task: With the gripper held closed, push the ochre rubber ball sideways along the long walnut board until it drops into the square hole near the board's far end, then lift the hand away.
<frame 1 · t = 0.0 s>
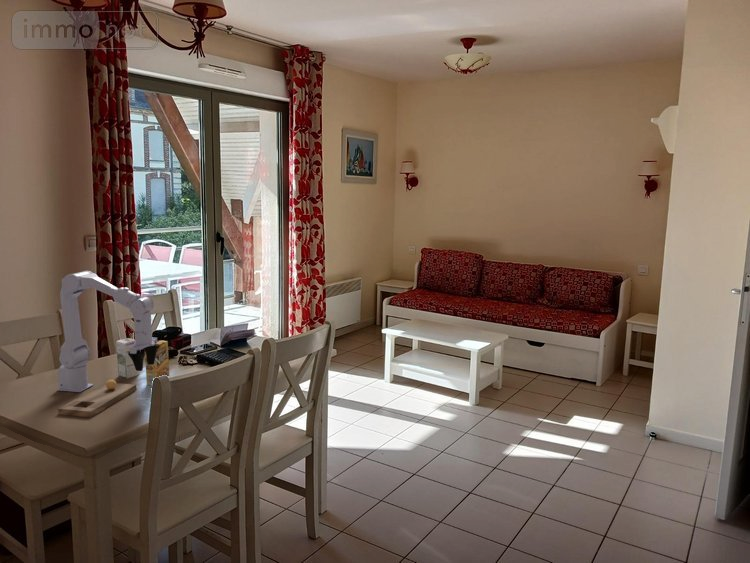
hand: (145, 367, 212), 10 cm above the table, tool pointing down, fingers open, 7 cm apart
candy box: (158, 382, 227), on the table
syrup box: (128, 376, 233), on the table
ball: (111, 384, 212), point 4 cm above the table, touching hole board
hole board: (99, 401, 206), on the table
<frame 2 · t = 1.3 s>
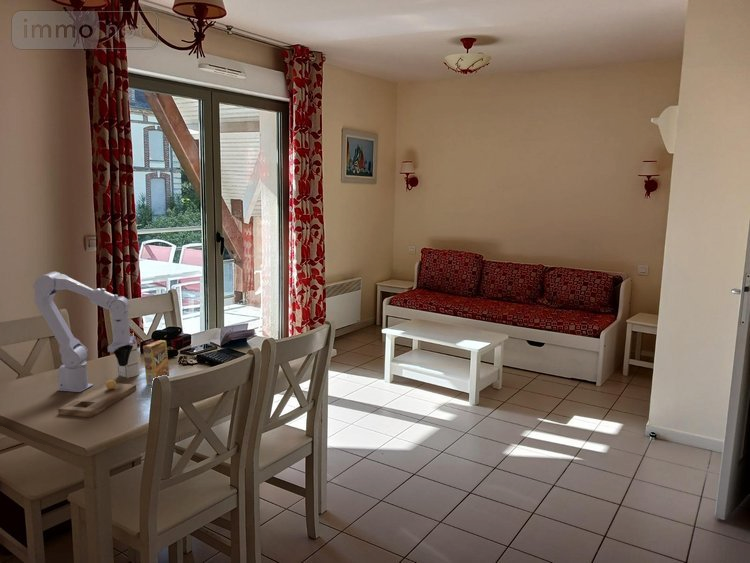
hand: (123, 365, 219), 8 cm above the table, tool pointing down, fingers closed
nothing on the table moved.
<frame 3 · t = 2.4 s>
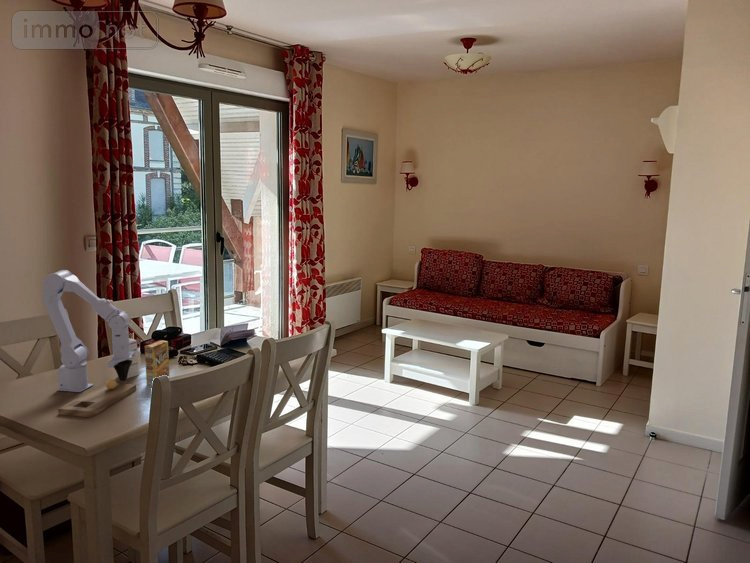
hand: (123, 380, 219), 3 cm above the table, tool pointing down, fingers closed
nothing on the table moved.
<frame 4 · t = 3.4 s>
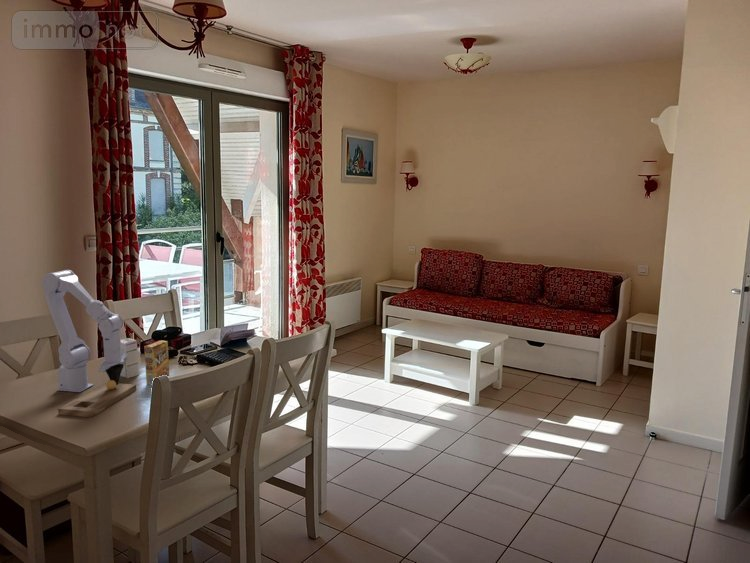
hand: (114, 384, 214), 3 cm above the table, tool pointing down, fingers closed, pressing on ball
ball: (110, 384, 212), point 4 cm above the table, tilted 5°, touching gripper, hole board
everything else where it was.
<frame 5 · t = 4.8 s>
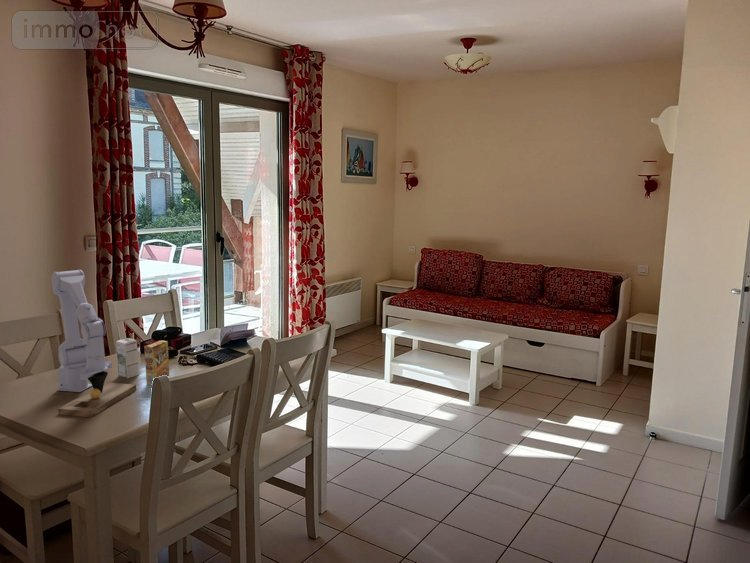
hand: (98, 393, 204), 3 cm above the table, tool pointing down, fingers closed, pressing on ball
ball: (95, 393, 203), point 4 cm above the table, tilted 52°, touching gripper, hole board
everything else where it was.
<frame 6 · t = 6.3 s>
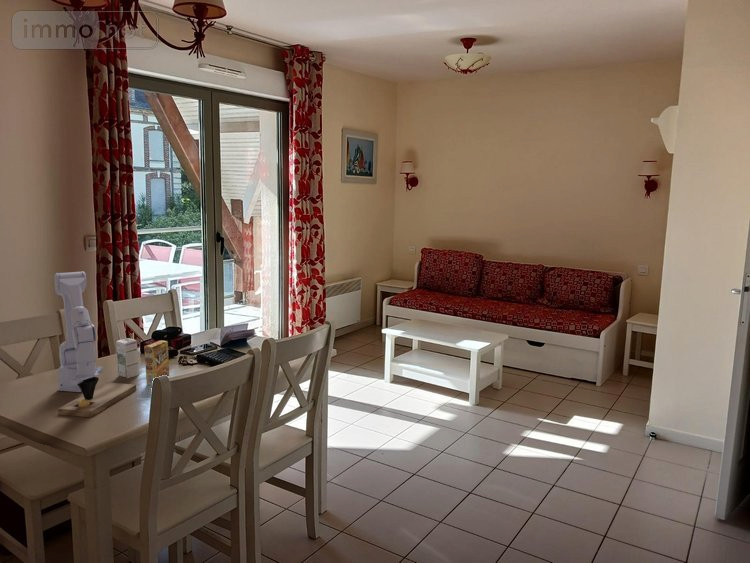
hand: (88, 399, 200), 3 cm above the table, tool pointing down, fingers closed
ball: (84, 404, 198), point 2 cm above the table, tilted 147°, touching gripper
everything else where it was.
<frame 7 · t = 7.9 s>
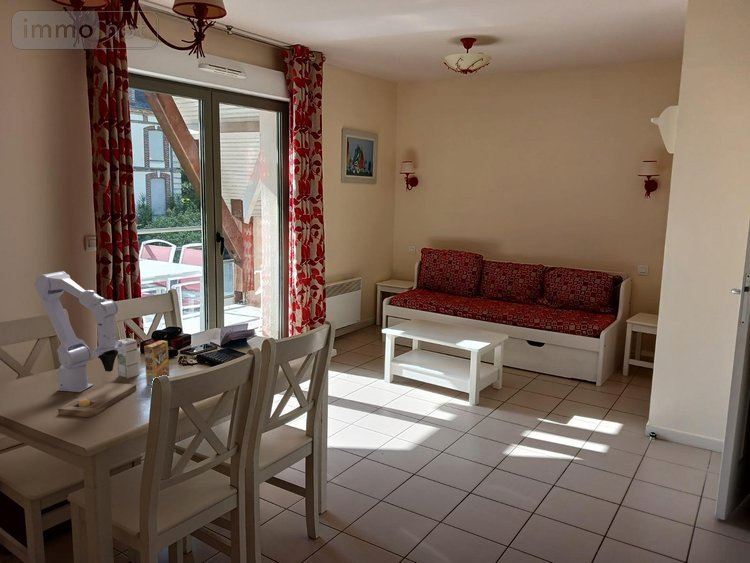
hand: (108, 370, 212), 9 cm above the table, tool pointing down, fingers closed
ball: (84, 404, 199), point 2 cm above the table, tilted 141°
everything else where it was.
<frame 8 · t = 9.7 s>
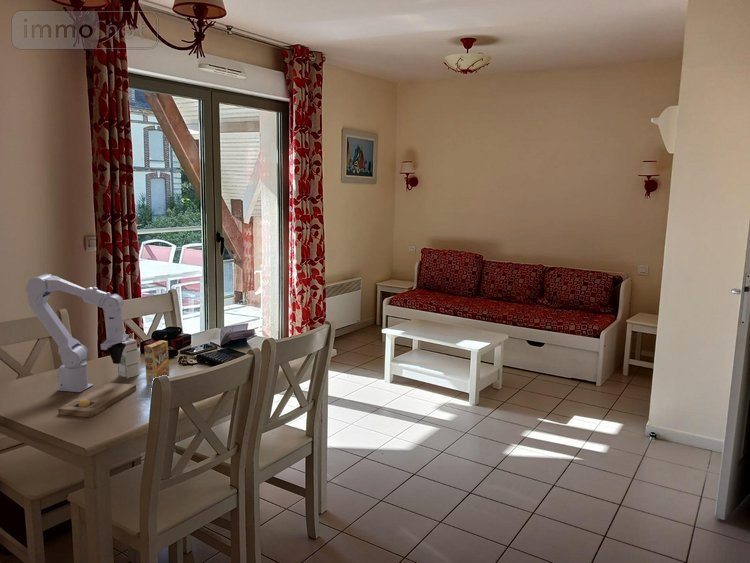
hand: (116, 363, 218), 9 cm above the table, tool pointing down, fingers closed
nothing on the table moved.
at the end: ball 0.9 cm from the target spot on the hole board, point 1.7 cm above the hole board's base; candy box moved 0.2 cm from its start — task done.
